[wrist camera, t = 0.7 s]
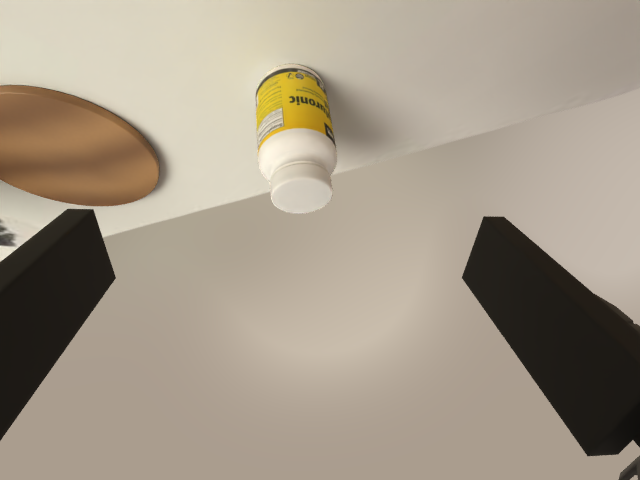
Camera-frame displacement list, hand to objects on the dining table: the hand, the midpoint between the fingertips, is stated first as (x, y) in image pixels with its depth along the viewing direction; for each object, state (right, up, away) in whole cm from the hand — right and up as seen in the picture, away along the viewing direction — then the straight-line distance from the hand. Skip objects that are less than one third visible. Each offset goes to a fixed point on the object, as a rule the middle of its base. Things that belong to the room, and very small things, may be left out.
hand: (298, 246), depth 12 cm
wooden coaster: (-21, +8, +17) cm, 28 cm away
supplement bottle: (-2, +12, +14) cm, 18 cm away
